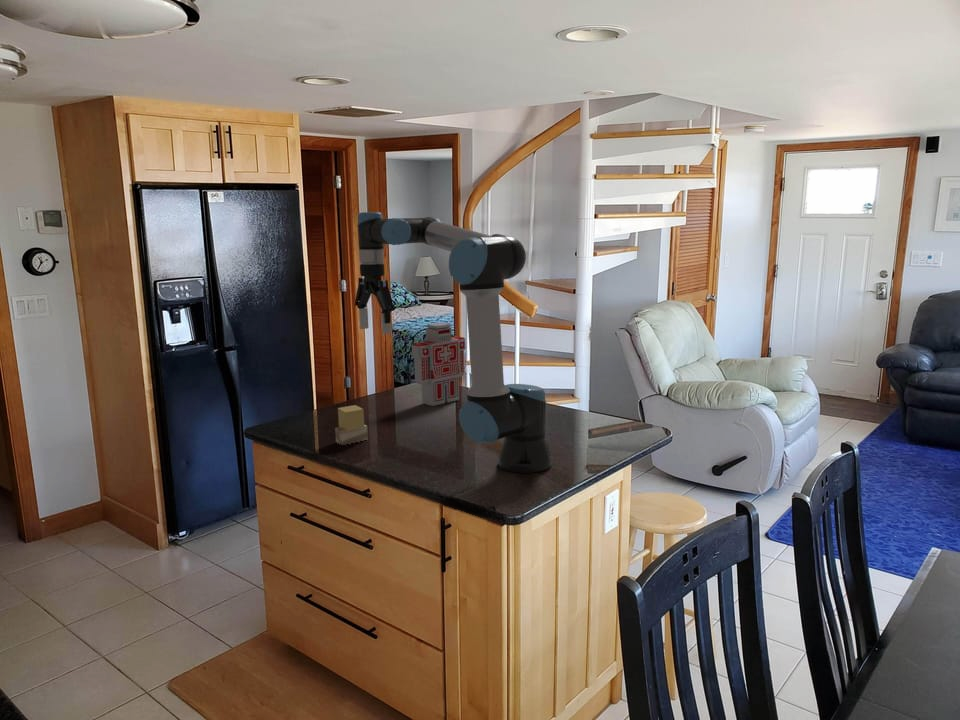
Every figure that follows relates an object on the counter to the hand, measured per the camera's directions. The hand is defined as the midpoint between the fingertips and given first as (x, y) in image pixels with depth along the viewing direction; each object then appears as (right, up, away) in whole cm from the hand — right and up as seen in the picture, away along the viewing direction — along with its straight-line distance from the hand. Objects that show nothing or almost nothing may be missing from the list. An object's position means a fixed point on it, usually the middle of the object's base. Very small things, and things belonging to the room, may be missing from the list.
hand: (375, 331), depth 227 cm
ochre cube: (-8, -30, +2) cm, 31 cm away
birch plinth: (-8, -35, +3) cm, 36 cm away
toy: (+18, -25, +48) cm, 57 cm away
